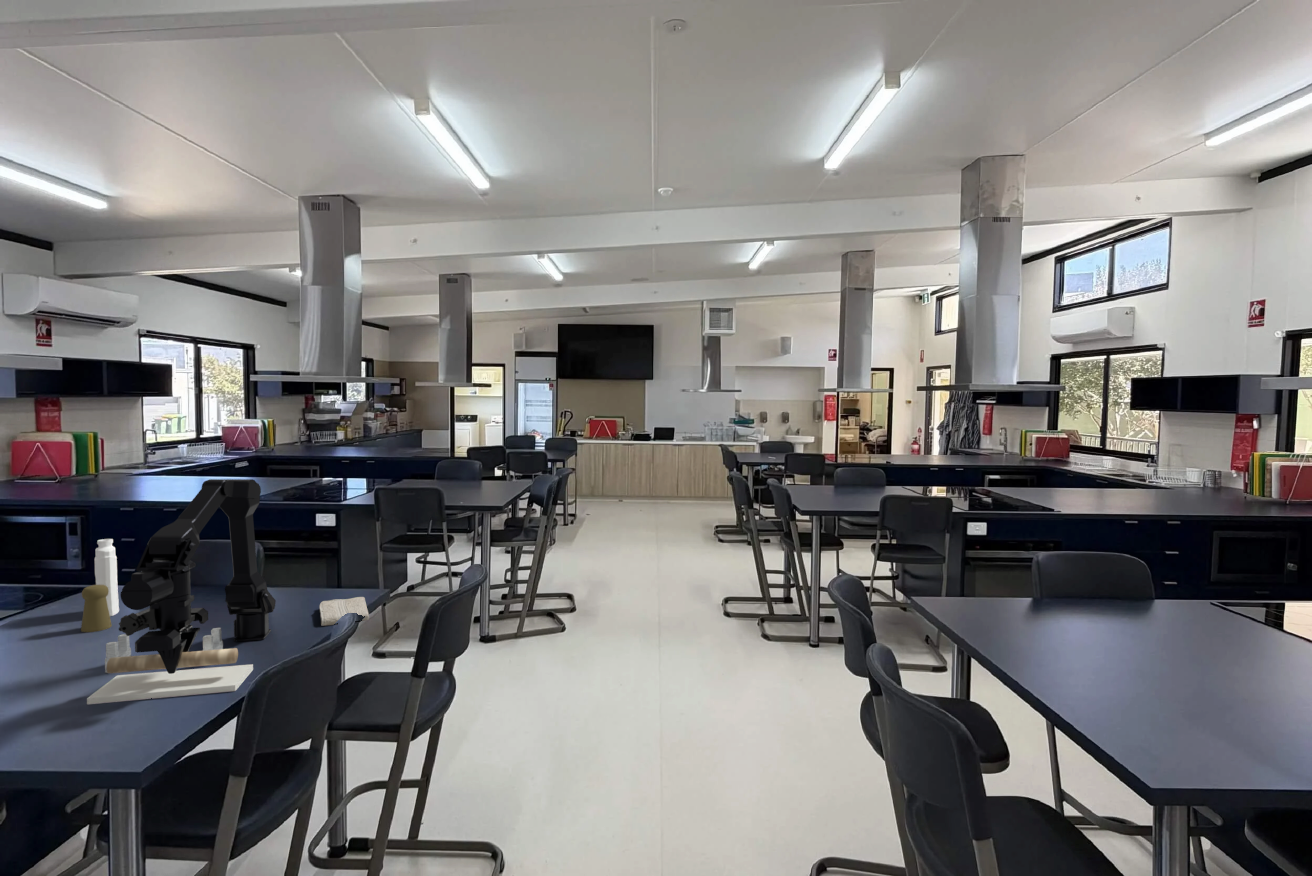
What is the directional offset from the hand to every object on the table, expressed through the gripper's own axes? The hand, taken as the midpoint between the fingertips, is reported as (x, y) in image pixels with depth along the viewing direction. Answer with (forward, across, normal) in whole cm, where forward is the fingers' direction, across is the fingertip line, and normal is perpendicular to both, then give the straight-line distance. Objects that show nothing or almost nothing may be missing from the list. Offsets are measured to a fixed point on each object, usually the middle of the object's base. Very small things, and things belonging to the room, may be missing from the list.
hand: (175, 669), depth 135 cm
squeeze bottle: (+4, -58, -38) cm, 69 cm away
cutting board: (+3, 0, 0) cm, 3 cm away
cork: (+4, -44, -34) cm, 56 cm away
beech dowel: (-2, 0, 0) cm, 2 cm away
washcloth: (+4, -42, +24) cm, 49 cm away
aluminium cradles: (+3, -14, -7) cm, 16 cm away
